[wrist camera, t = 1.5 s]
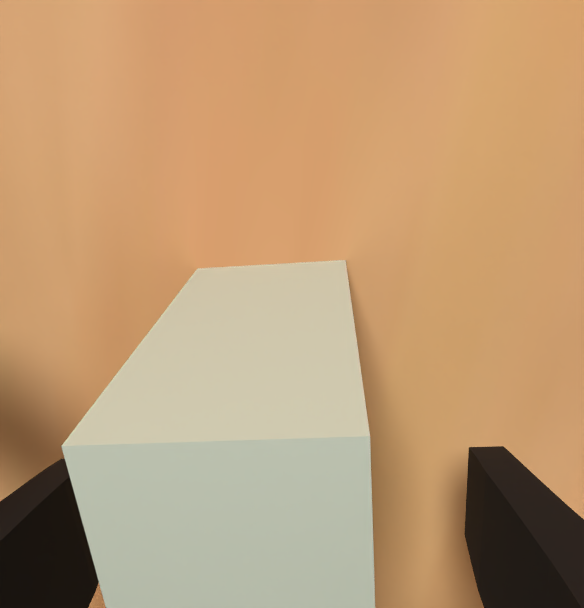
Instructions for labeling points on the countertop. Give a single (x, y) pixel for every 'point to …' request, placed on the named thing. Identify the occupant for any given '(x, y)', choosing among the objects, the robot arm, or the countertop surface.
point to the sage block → (234, 450)
